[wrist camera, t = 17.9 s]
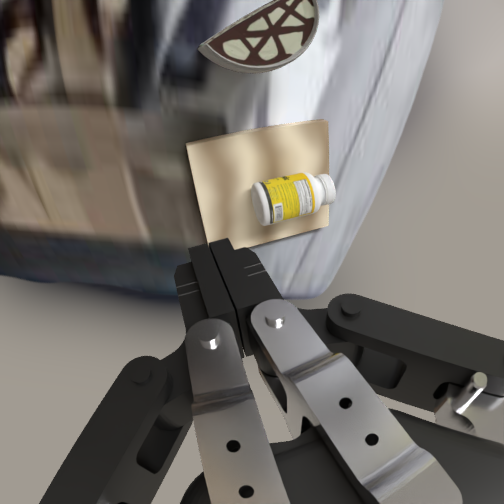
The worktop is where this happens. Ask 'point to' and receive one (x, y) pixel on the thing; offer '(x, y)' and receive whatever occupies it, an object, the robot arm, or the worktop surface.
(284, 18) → the food container
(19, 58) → the worktop surface
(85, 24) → the worktop surface
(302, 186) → the supplement bottle
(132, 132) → the worktop surface
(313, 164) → the birch board
